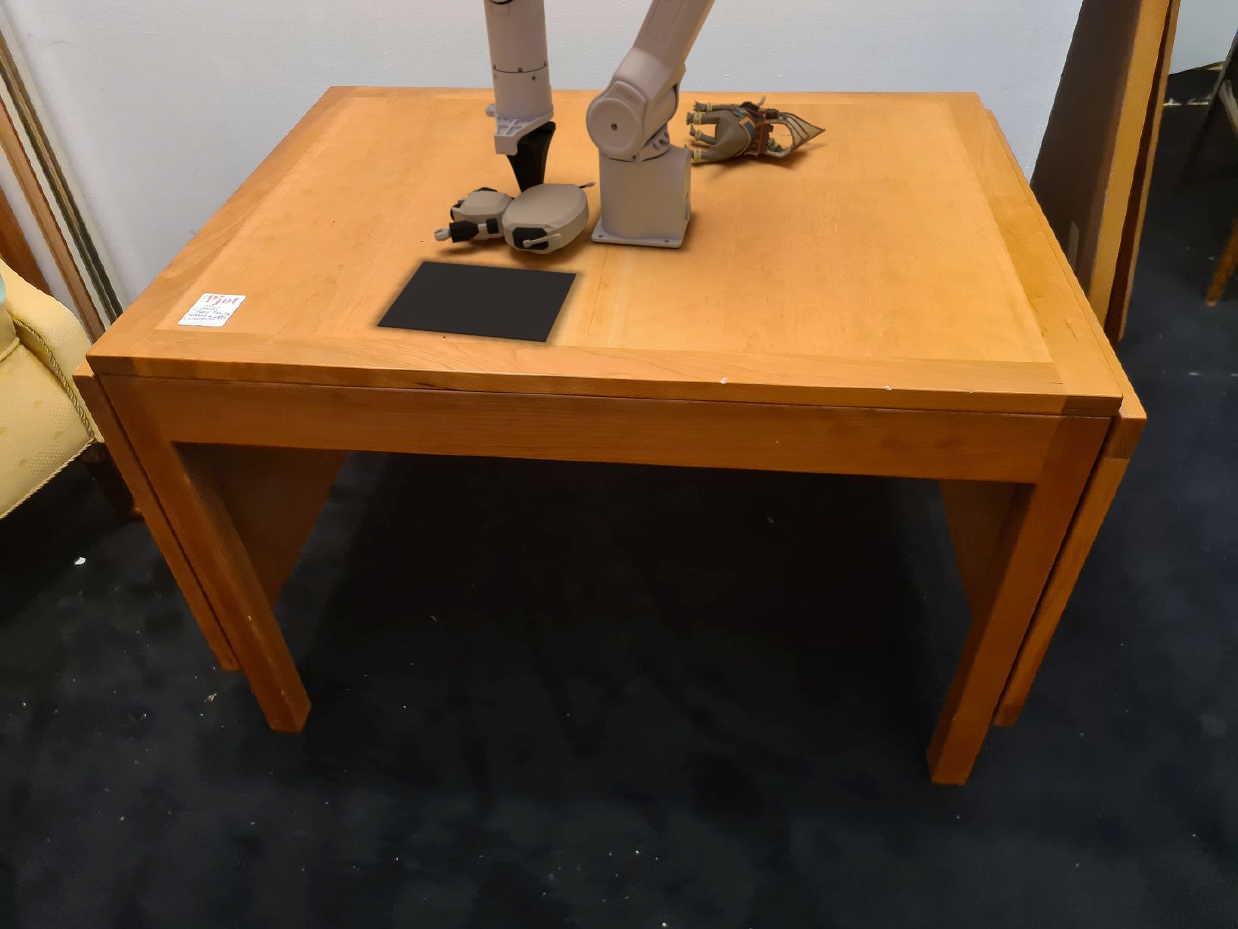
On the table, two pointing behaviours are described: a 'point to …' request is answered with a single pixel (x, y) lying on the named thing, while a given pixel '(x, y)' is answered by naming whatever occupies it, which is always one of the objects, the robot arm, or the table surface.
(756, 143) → the leather gauntlet glove
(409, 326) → the mat
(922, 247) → the table surface
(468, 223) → the robot toy
